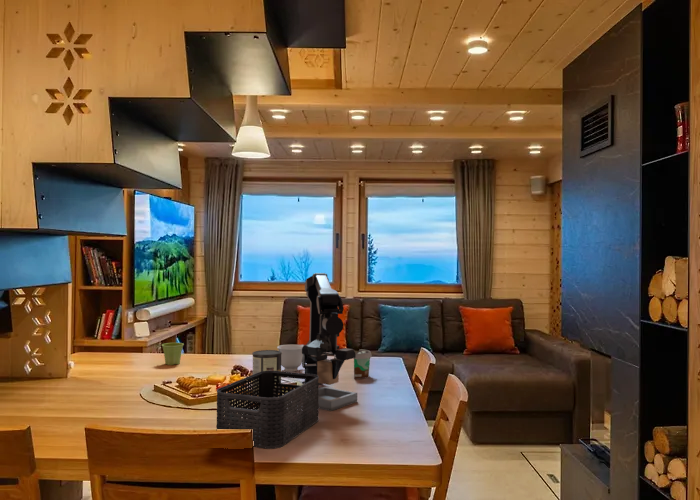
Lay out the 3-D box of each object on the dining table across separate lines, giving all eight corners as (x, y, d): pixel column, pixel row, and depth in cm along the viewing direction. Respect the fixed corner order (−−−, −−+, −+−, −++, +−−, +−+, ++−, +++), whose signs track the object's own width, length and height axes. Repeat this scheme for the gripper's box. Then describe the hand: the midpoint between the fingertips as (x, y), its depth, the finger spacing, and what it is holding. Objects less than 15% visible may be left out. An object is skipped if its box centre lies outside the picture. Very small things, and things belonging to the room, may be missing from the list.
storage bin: (277, 451, 137) (277, 397, 138) (210, 441, 144) (211, 390, 144) (322, 420, 164) (322, 374, 164) (264, 413, 171) (264, 369, 171)
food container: (368, 380, 218) (369, 354, 218) (353, 379, 219) (353, 353, 219) (373, 373, 230) (374, 349, 230) (359, 373, 231) (359, 348, 231)
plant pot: (179, 366, 242) (180, 346, 242) (158, 365, 242) (158, 345, 242) (186, 362, 251) (186, 342, 251) (165, 361, 251) (165, 342, 252)
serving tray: (297, 403, 182) (297, 394, 182) (324, 395, 193) (324, 386, 193) (331, 410, 173) (331, 401, 173) (357, 401, 185) (357, 392, 185)
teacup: (314, 368, 239) (315, 345, 240) (293, 374, 227) (293, 349, 227) (292, 365, 246) (293, 342, 246) (270, 370, 233) (271, 347, 234)
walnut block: (317, 382, 183) (317, 361, 183) (326, 380, 187) (326, 359, 187) (329, 384, 180) (329, 363, 180) (338, 382, 184) (338, 360, 184)
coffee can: (268, 387, 204) (269, 348, 204) (287, 392, 197) (287, 352, 197) (245, 392, 197) (246, 352, 197) (264, 397, 190) (264, 355, 190)
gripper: (290, 330, 183) (290, 378, 182) (335, 335, 172) (335, 386, 171) (312, 327, 192) (312, 372, 191) (356, 332, 181) (356, 380, 180)
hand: (327, 377), depth 183 cm, fingers closed on walnut block, 5 cm apart
